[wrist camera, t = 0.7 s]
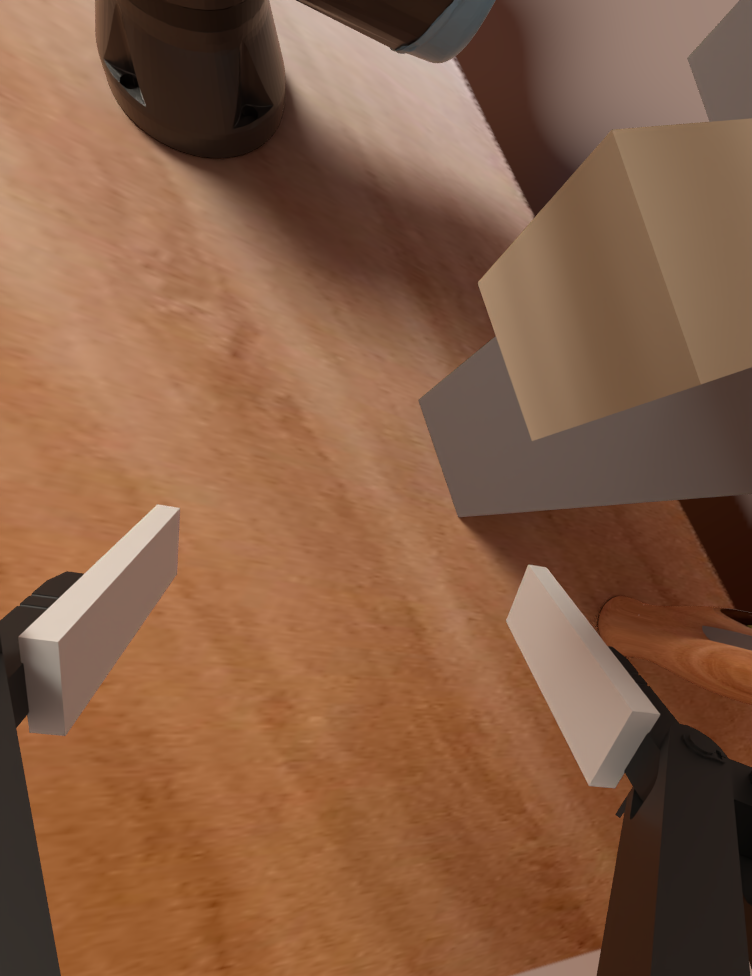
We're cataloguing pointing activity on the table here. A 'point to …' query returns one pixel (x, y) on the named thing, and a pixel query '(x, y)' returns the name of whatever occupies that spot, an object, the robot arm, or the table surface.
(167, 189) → the table surface
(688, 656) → the beer glass
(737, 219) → the wooden bar
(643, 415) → the grey stand
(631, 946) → the robot arm
